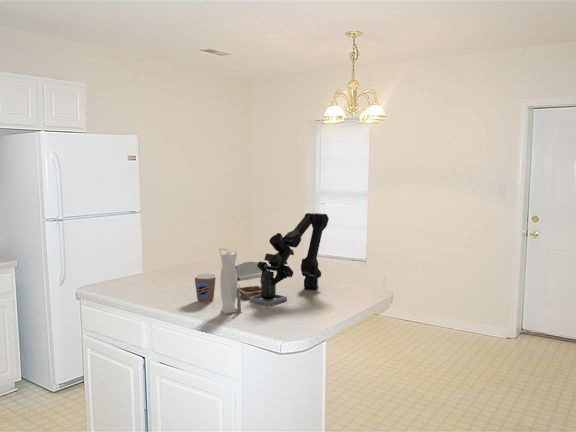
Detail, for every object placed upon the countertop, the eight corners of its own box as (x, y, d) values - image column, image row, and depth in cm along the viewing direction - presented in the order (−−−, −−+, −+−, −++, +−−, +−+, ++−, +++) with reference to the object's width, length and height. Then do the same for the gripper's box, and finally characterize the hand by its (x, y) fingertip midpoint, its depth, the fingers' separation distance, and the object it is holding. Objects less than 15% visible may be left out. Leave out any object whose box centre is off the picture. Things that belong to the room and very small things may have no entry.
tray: (267, 296, 245) (267, 292, 245) (286, 300, 238) (286, 296, 237) (249, 301, 236) (249, 297, 236) (269, 306, 228) (269, 301, 228)
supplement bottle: (258, 296, 239) (259, 271, 237) (272, 295, 241) (272, 270, 240) (263, 300, 233) (264, 274, 231) (277, 298, 235) (278, 273, 234)
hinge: (239, 280, 279) (236, 262, 281) (235, 282, 283) (231, 264, 285) (264, 276, 290) (260, 259, 292) (259, 278, 294) (255, 261, 295)
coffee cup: (190, 303, 232) (190, 277, 231) (198, 297, 242) (198, 273, 241) (212, 304, 230) (212, 278, 229) (219, 298, 240) (219, 273, 239)
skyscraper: (222, 315, 214) (222, 250, 211) (217, 310, 221) (216, 247, 219) (241, 313, 217) (241, 248, 215) (236, 308, 225) (235, 246, 222)
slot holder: (258, 291, 255) (258, 285, 255) (267, 296, 245) (267, 290, 244) (235, 293, 250) (235, 287, 250) (244, 299, 239) (244, 293, 239)
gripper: (259, 244, 243) (243, 271, 236) (289, 248, 231) (273, 276, 224) (270, 258, 250) (255, 284, 243) (300, 263, 238) (285, 291, 231)
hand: (266, 284), depth 235 cm, fingers closed on supplement bottle, 7 cm apart
